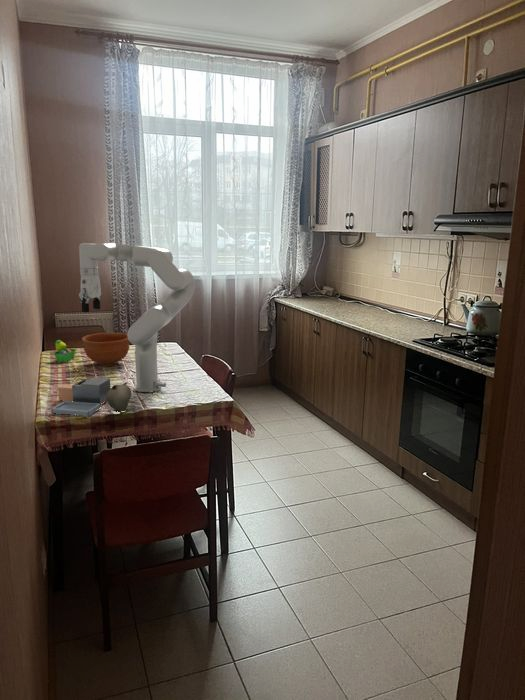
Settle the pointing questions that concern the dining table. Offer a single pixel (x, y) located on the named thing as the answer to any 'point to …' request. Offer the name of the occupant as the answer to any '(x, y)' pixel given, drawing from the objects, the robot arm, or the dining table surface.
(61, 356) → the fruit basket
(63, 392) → the tan rectangular block
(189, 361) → the dining table surface
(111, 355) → the bowl
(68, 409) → the tray
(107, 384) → the dispenser
